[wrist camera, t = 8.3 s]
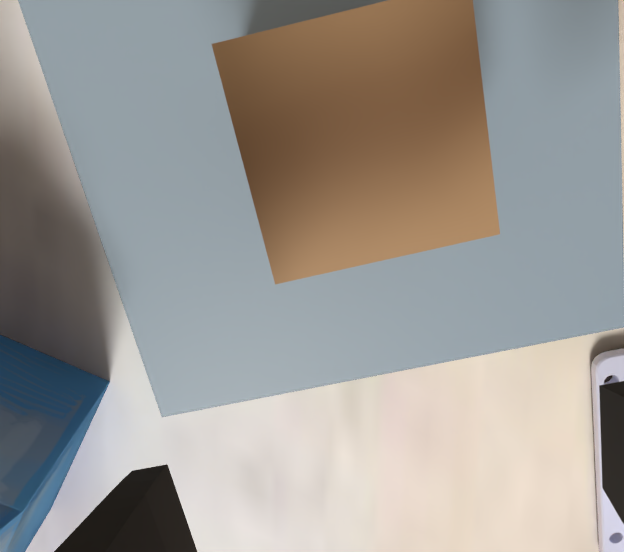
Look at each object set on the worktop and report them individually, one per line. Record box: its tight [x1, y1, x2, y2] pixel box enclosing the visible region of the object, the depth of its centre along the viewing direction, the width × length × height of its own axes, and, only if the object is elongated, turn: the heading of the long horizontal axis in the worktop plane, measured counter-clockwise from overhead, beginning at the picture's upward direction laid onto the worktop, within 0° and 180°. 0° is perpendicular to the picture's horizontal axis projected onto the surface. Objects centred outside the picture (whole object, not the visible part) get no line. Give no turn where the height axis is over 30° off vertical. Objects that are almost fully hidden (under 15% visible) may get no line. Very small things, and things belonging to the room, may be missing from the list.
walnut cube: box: [212, 0, 500, 284], centre depth 13 cm, size 5×5×5 cm
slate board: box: [18, 0, 624, 417], centre depth 16 cm, size 16×16×1 cm
